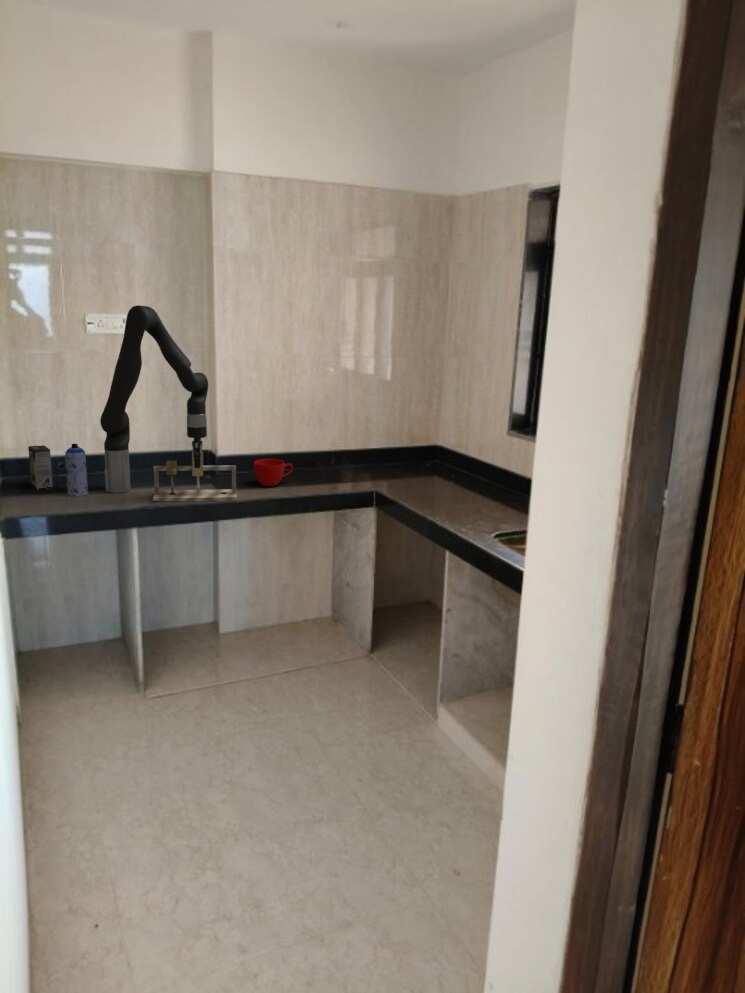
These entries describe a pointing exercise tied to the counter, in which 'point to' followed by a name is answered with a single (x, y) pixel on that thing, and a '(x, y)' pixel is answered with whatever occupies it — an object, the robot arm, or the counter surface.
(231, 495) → the grey rail frame stand
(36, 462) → the coffee box
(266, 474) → the ceramic cup
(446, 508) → the counter surface
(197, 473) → the trammel head
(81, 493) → the aerosol can
